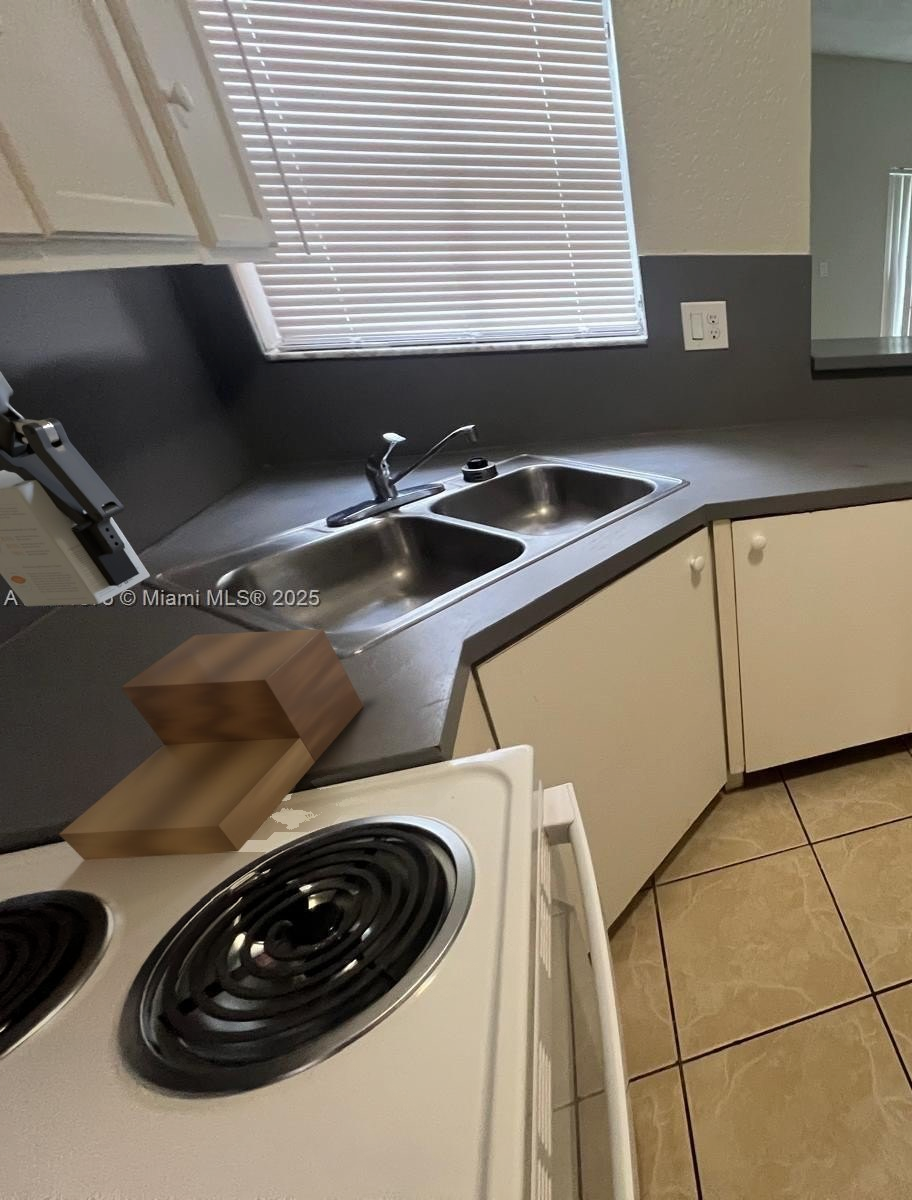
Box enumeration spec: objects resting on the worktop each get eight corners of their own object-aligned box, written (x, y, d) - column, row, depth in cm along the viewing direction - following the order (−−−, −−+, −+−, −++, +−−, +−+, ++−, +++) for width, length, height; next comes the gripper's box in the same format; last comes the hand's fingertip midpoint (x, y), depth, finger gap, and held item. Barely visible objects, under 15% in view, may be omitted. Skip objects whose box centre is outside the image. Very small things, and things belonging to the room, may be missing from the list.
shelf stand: (83, 859, 57) (-2, 773, 51) (245, 712, 74) (194, 634, 68) (238, 851, 57) (170, 764, 51) (363, 706, 74) (323, 628, 68)
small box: (153, 576, 71) (81, 465, 64) (98, 606, 66) (14, 487, 59) (83, 578, 71) (4, 467, 64) (23, 607, 66) (-69, 490, 59)
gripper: (84, 348, 59) (208, 561, 71) (-140, 356, 59) (22, 568, 71) (-1, 363, 53) (151, 594, 65) (-252, 372, 53) (-54, 603, 64)
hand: (83, 581), depth 68 cm, fingers closed on small box, 8 cm apart
